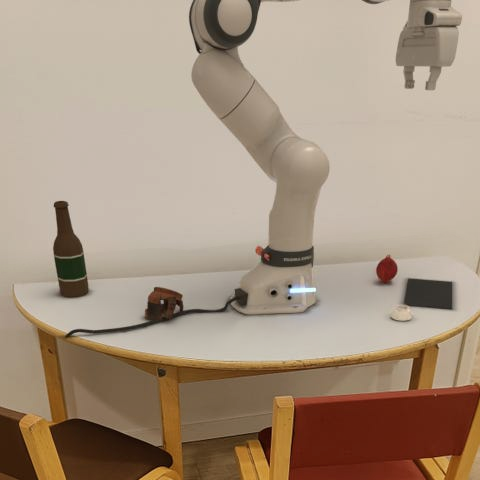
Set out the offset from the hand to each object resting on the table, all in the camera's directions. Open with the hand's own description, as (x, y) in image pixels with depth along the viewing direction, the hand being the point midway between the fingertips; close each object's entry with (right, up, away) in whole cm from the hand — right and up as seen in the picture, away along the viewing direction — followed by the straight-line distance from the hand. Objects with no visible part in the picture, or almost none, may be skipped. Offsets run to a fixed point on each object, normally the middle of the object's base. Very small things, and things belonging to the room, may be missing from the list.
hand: (419, 89), depth 140 cm
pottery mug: (-60, -52, +9) cm, 80 cm away
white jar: (-3, -52, +7) cm, 53 cm away
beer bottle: (-87, -42, +25) cm, 100 cm away
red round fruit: (-1, -38, +30) cm, 49 cm away
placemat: (+9, -43, +22) cm, 49 cm away
